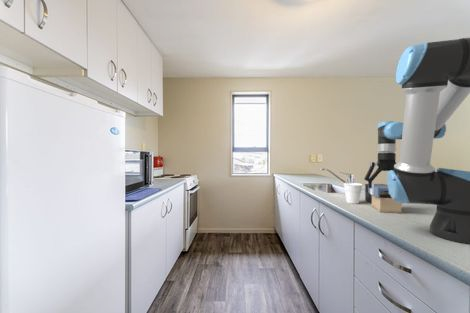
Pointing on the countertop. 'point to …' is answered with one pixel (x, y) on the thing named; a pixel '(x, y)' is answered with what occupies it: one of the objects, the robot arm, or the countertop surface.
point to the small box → (369, 197)
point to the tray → (386, 204)
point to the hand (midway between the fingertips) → (386, 195)
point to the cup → (352, 192)
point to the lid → (378, 189)
